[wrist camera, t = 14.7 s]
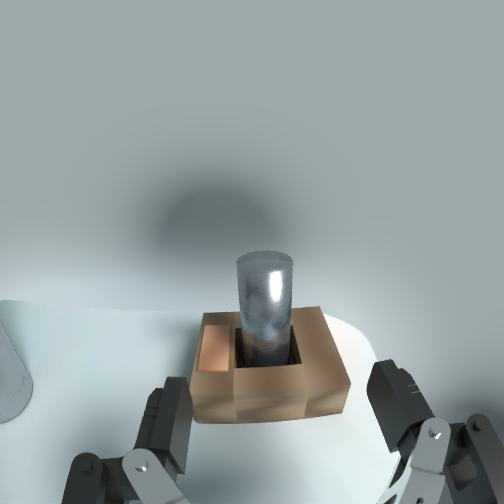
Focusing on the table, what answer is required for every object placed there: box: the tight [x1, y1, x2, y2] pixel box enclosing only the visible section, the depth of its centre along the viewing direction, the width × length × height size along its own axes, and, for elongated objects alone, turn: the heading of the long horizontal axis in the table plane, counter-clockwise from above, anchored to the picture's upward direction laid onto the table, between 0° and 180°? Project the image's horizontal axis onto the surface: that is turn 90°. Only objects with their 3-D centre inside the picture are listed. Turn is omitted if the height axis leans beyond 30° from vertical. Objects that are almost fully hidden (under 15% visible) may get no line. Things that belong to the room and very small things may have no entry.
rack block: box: [189, 306, 351, 424], centre depth 24 cm, size 12×11×4 cm
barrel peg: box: [237, 251, 293, 368], centre depth 23 cm, size 4×4×12 cm
